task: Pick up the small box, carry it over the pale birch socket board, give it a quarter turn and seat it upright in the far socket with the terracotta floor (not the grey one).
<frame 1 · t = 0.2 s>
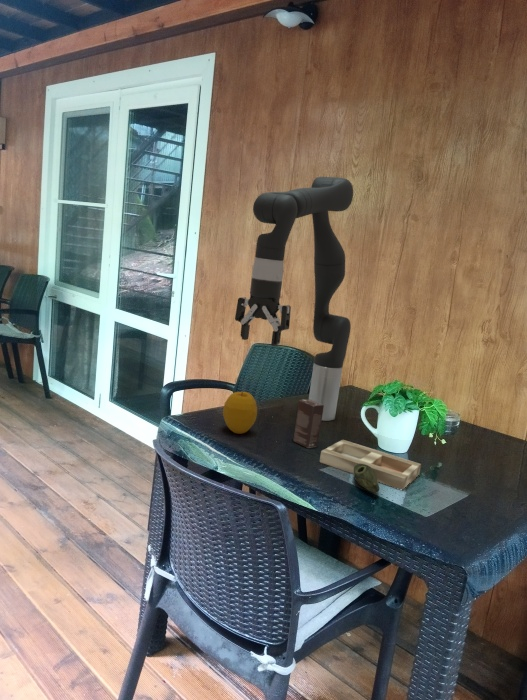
hand: (259, 342, 143), 28 cm above the table, fingers open, 8 cm apart
box: (305, 444, 158), on the table
apple: (237, 432, 161), on the table
decorative stone: (365, 487, 134), on the table
socket board: (369, 468, 146), on the table
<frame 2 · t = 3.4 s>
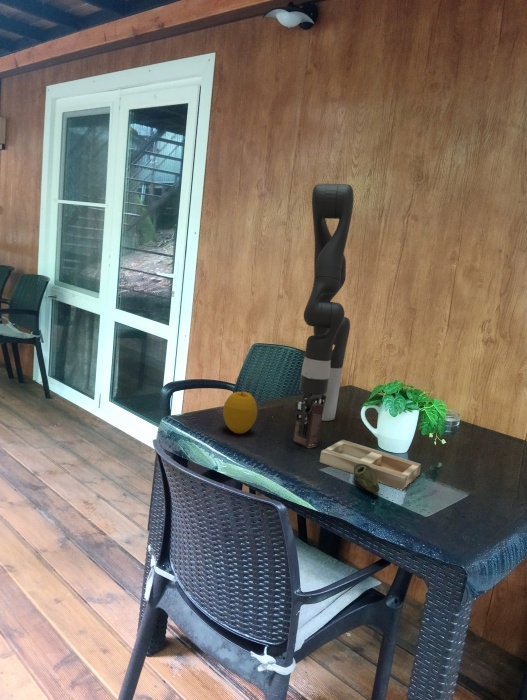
hand: (306, 433, 157), 3 cm above the table, fingers closed on box, 5 cm apart
box: (305, 444, 158), on the table, touching gripper
everything else where it was.
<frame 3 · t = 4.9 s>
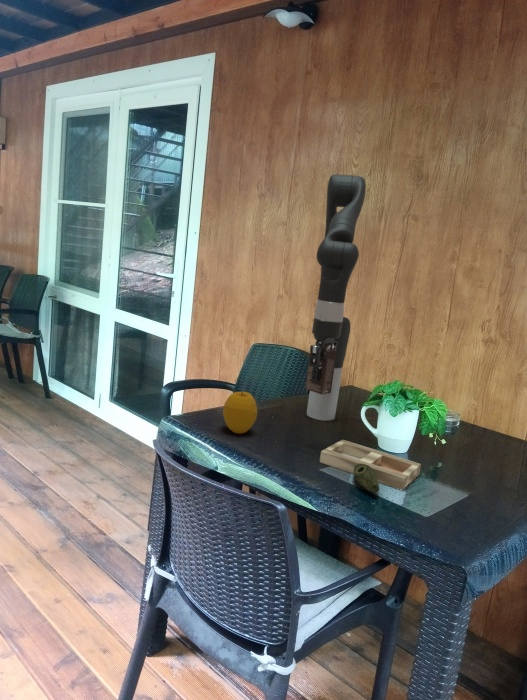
hand: (319, 380, 153), 19 cm above the table, fingers closed on box, 5 cm apart
box: (317, 392, 154), point 15 cm above the table, touching gripper
everything else where it was.
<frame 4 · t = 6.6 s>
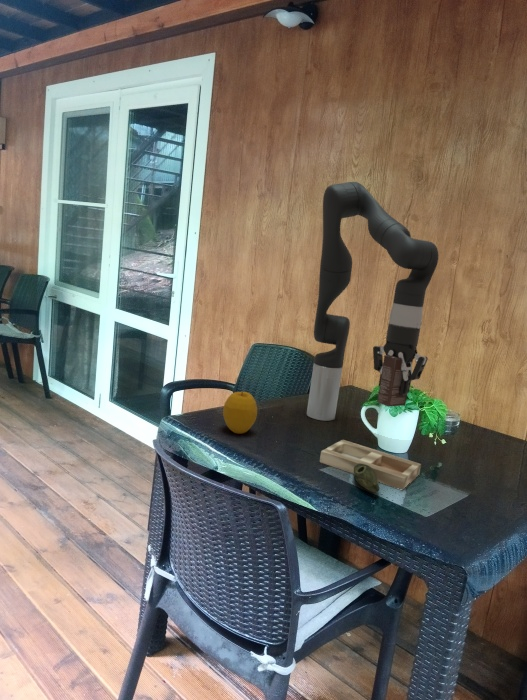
hand: (393, 391, 140), 21 cm above the table, fingers closed on box, 5 cm apart
box: (390, 404, 140), point 18 cm above the table, touching gripper
everything else where it was.
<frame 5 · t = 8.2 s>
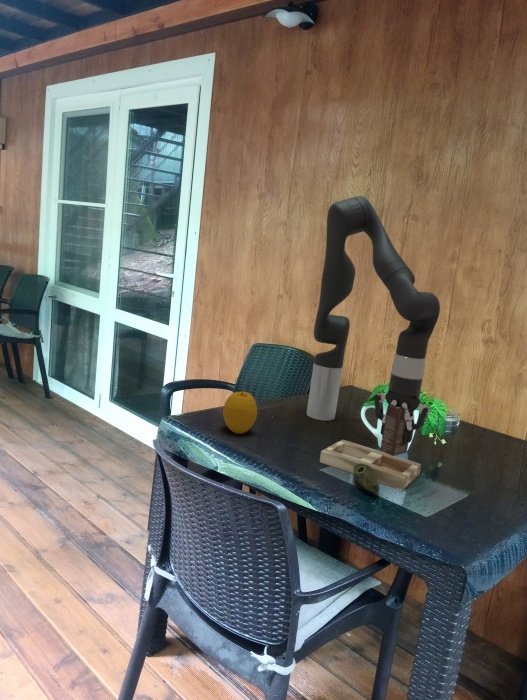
hand: (395, 439, 141), 9 cm above the table, fingers closed on box, 5 cm apart
box: (392, 452, 142), point 6 cm above the table, touching gripper
everything else where it was.
when the fingers open (4 cm above the table, at t = 9.9 s): box stays where it is, resting on socket board.
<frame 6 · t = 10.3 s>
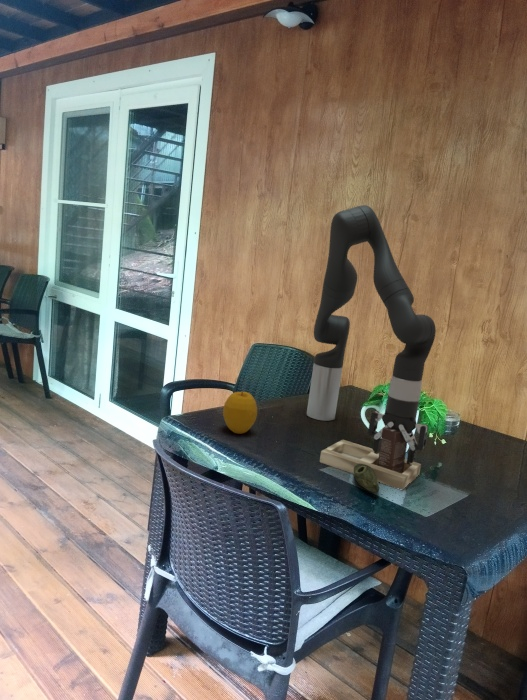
hand: (392, 458, 142), 5 cm above the table, fingers open, 8 cm apart
box: (388, 474, 143), resting on socket board
everything else where it was.
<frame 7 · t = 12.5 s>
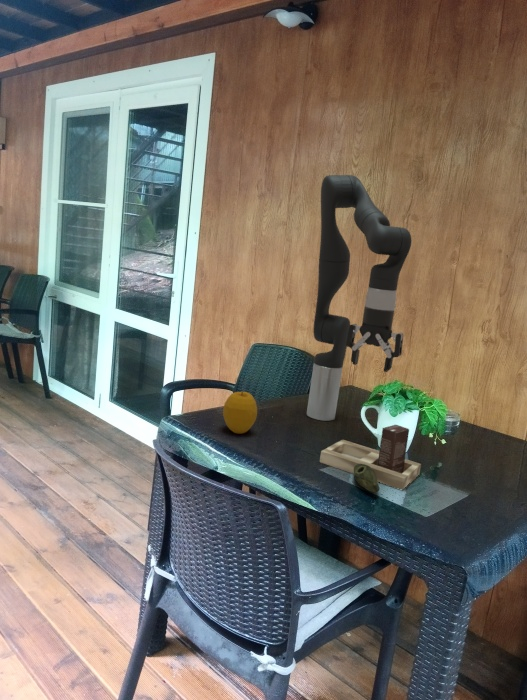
hand: (370, 367, 149), 25 cm above the table, fingers open, 8 cm apart
nothing on the table moved.
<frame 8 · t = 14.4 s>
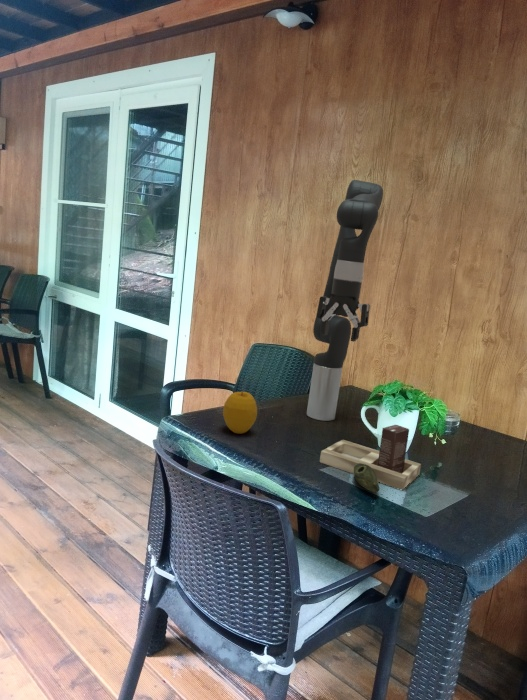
hand: (338, 338, 155), 30 cm above the table, fingers open, 8 cm apart
nothing on the table moved.
at the end: box 0.3 cm from the target spot on the socket board, point 0.1 cm above the socket board's base; box tilted 0°; the gripper is holding nothing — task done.
